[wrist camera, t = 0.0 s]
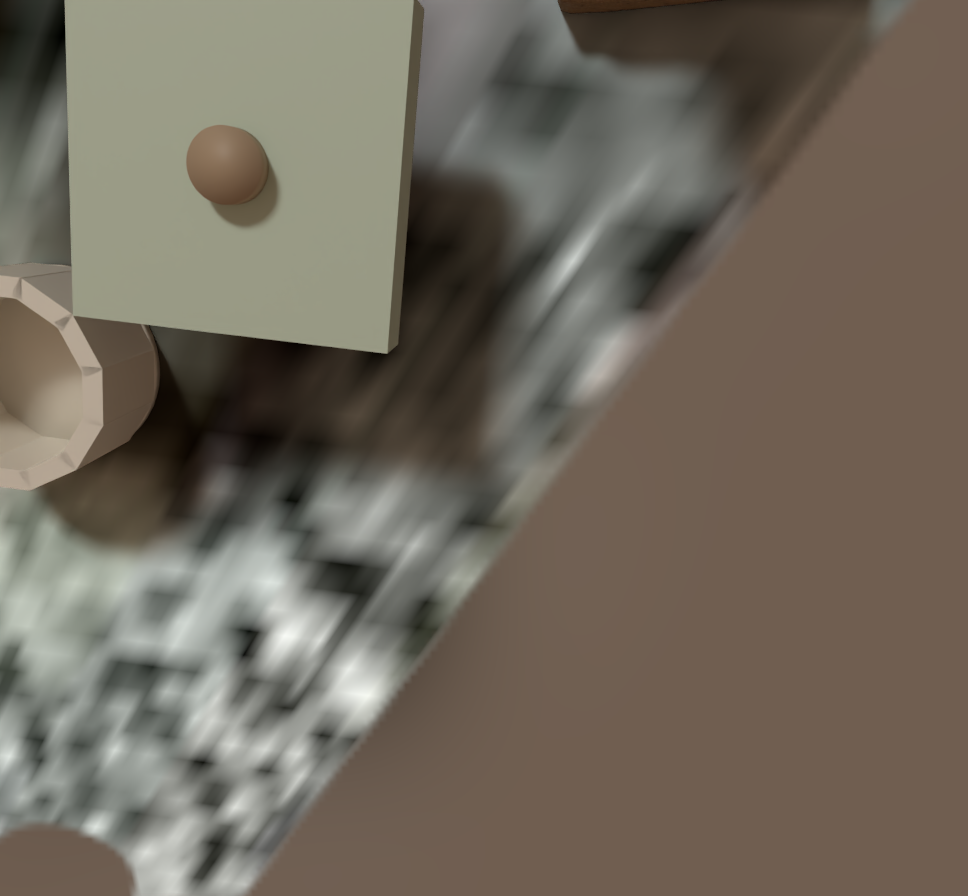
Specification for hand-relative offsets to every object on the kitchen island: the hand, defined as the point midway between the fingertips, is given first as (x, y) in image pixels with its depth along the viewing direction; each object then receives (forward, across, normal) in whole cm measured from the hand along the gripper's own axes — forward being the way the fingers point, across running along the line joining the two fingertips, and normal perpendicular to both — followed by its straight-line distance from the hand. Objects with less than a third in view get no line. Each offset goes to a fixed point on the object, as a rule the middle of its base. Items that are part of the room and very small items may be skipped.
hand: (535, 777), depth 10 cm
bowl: (+28, -21, -3) cm, 35 cm away
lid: (+22, -11, +6) cm, 26 cm away
